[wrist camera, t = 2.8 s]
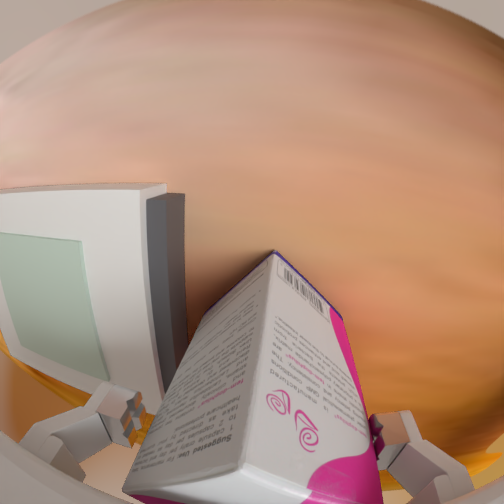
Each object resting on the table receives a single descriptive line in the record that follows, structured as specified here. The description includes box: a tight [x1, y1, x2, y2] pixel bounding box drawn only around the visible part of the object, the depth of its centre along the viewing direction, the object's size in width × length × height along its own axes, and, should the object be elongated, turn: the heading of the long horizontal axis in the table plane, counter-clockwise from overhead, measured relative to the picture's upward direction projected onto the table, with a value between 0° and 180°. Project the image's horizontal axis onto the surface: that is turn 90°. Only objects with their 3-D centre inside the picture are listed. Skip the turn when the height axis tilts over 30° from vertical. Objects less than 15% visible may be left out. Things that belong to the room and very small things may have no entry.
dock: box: [0, 183, 188, 415], centre depth 15 cm, size 17×14×3 cm
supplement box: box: [122, 250, 383, 504], centre depth 10 cm, size 6×6×12 cm
